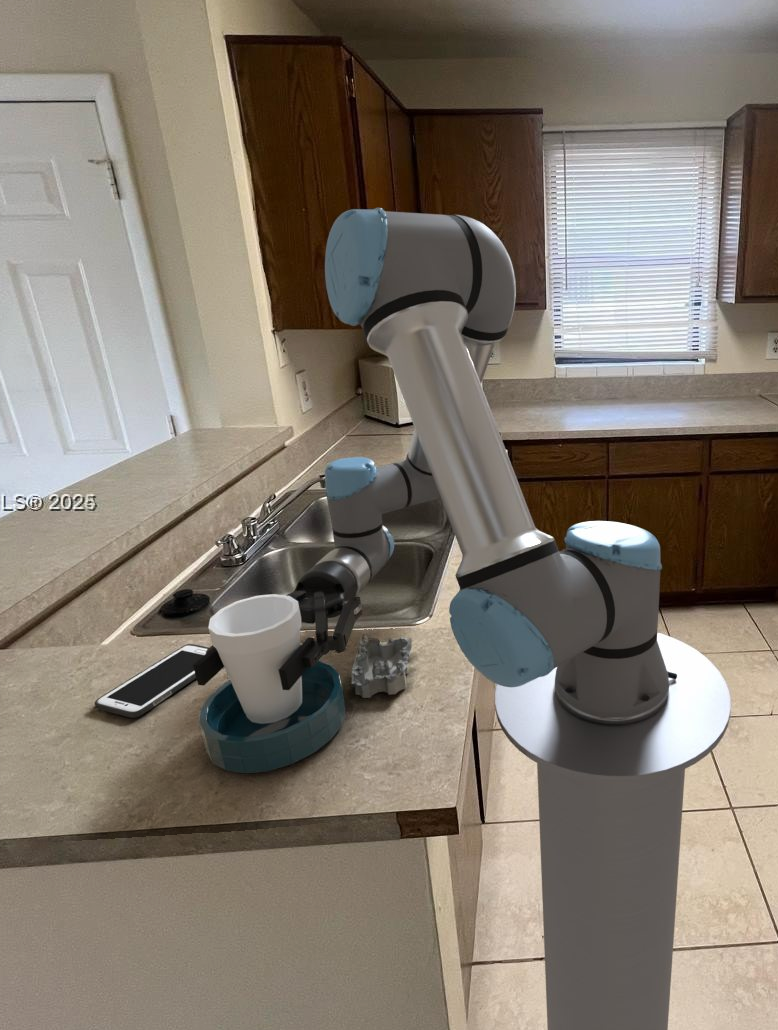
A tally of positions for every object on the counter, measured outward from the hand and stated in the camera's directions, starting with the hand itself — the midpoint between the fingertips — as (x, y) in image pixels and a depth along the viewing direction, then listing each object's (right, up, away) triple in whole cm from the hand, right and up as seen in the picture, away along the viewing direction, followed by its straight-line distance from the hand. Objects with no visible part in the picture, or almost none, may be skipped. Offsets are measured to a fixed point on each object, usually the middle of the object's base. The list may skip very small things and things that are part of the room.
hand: (241, 677), depth 68 cm
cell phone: (-20, -6, +17) cm, 27 cm away
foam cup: (+1, -6, +7) cm, 9 cm away
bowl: (+1, -9, +8) cm, 12 cm away
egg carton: (+10, -5, +18) cm, 22 cm away
